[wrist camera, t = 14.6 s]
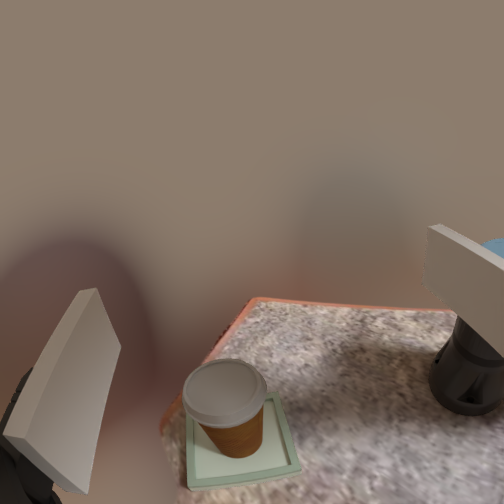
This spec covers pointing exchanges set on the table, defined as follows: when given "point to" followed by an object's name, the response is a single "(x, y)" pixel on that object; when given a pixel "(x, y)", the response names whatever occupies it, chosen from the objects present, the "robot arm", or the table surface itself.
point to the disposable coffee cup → (227, 405)
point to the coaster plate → (242, 469)
